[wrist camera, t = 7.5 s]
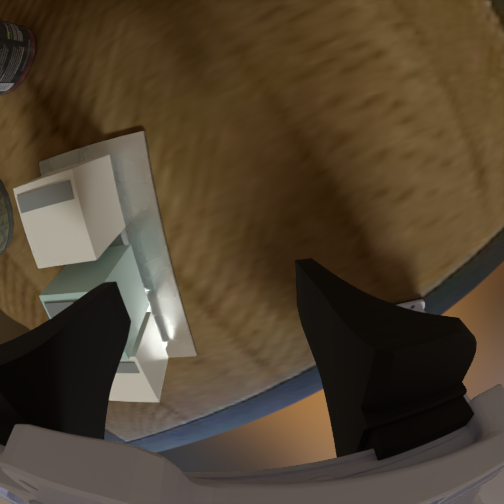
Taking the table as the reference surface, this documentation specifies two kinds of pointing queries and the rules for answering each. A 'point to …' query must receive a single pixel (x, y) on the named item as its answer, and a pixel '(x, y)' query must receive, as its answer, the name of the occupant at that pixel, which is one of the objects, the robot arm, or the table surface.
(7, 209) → the thermos
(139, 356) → the mounted modules
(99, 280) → the block
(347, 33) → the table surface
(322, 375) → the robot arm
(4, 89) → the supplement bottle
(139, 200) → the rail panel
